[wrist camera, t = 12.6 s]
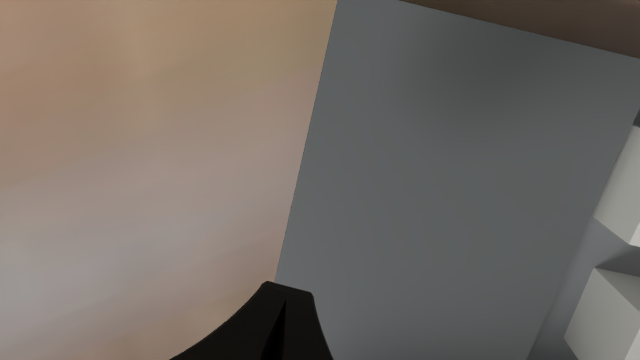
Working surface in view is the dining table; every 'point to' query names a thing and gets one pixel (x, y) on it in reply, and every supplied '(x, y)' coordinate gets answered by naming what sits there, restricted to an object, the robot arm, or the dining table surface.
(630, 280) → the tile
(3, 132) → the dining table surface
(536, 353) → the tray
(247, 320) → the robot arm
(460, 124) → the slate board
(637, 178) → the tile
